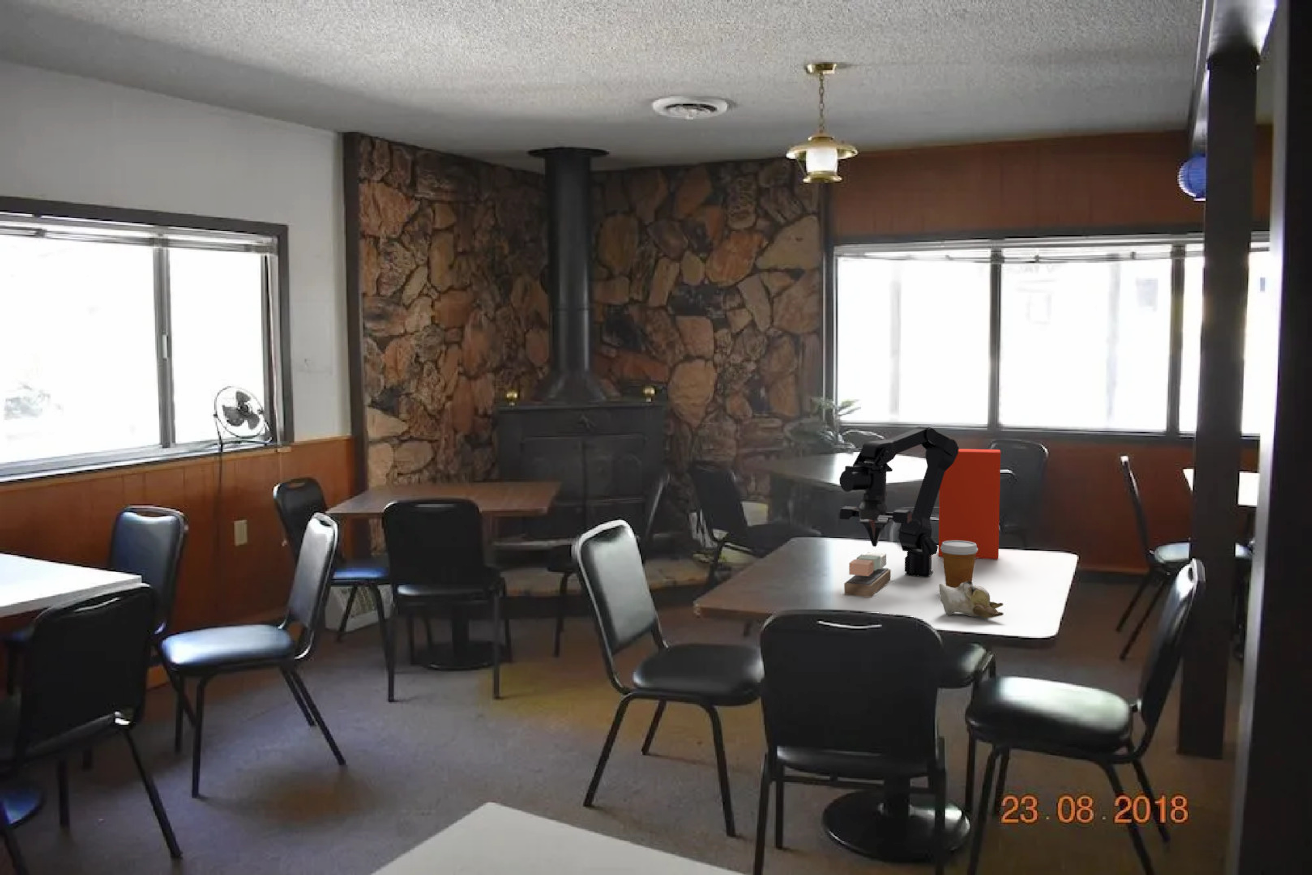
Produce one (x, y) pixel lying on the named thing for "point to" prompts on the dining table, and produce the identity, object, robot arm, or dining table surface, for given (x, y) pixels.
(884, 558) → the key white
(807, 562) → the dining table surface
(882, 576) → the key panel
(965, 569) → the disposable coffee cup
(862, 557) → the key sage
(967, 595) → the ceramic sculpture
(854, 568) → the key terracotta
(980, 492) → the file binder
